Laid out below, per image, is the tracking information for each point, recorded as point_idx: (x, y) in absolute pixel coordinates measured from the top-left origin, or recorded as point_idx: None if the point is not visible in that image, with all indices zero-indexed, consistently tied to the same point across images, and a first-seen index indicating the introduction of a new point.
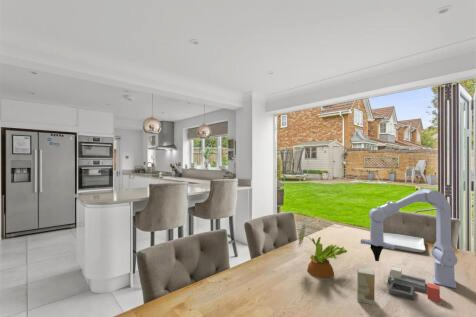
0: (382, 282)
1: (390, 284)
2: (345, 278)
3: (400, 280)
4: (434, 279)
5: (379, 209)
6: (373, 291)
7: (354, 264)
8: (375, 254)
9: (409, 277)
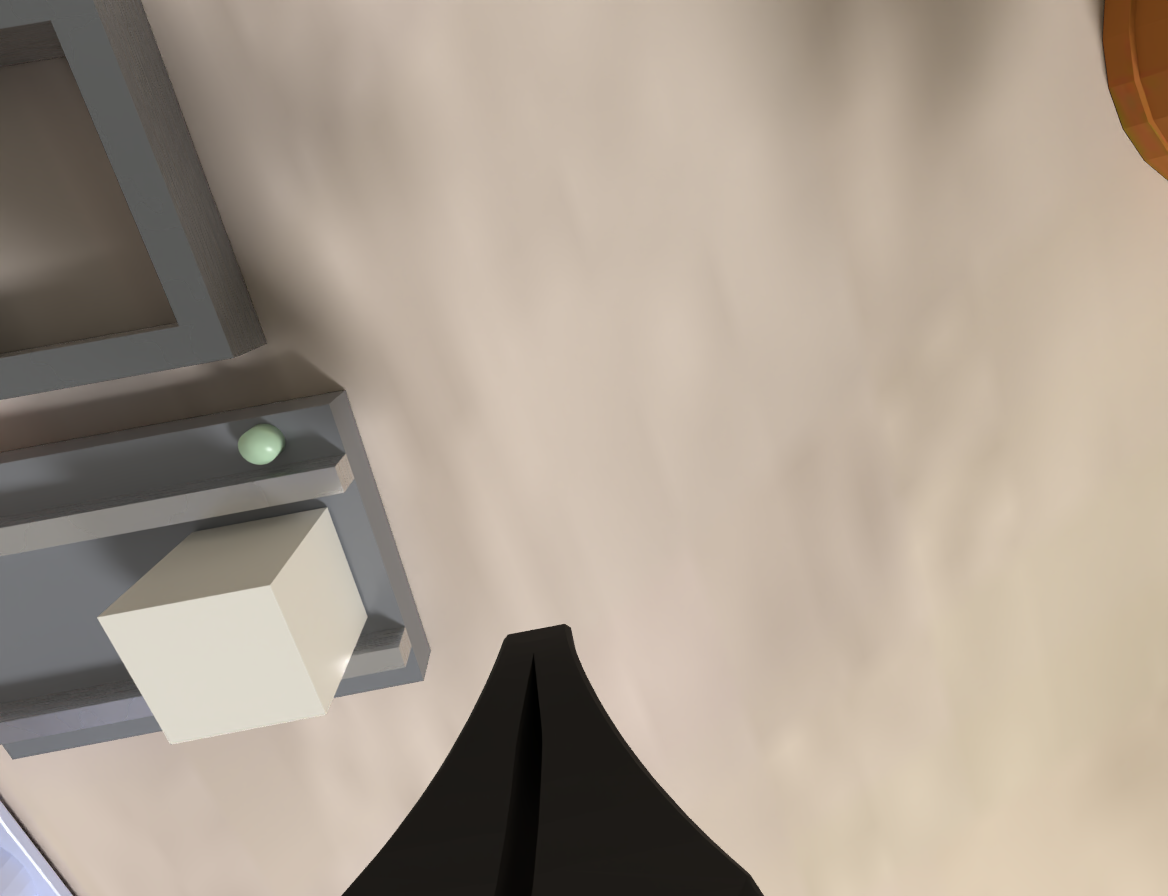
0: (404, 354)
1: (171, 207)
2: (897, 25)
3: (163, 494)
4: (23, 862)
5: None
6: None
7: (892, 625)
8: (557, 740)
9: None
